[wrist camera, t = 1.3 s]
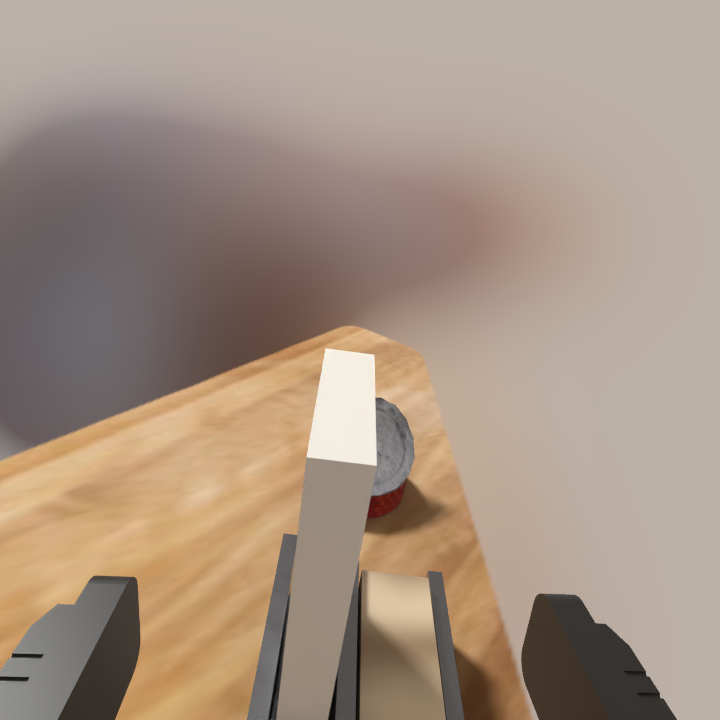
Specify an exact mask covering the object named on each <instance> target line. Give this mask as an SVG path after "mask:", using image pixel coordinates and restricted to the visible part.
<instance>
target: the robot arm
mask: <svg viewBox="0 0 720 720" xmlns="http://www.w3.org/2000/svg"><path fill="white" fill-rule="evenodd" d="M139 648H140V621H139V602H138V584H137V580H136V578H135V577H119V576H93V577H92V578H91V579H90V580H89V582H88V583H87V585H86V586H85V588H84V590H83V591H82V593H81V595H80V596H79V598H78V600H77V601H76V603H75V604H74V605H65V604H57V605H56V606H55V607H54V608H53V609H51V610H50V611H49V612H48V613H46V614H45V615H44V616H43V617H42V618H40V619H39V620H38V621H37V622H35V623H34V624H33V625H32V626H31V627H30V628H29V630H28V631H27V633H26V634H25V635H24V637H23V638H22V640H21V641H20V643H19V644H18V646H17V647H16V649H15V650H14V652H13V653H12V657H11V659H8V660H7V662H6V663H5V665H4V666H3V668H2V669H1V671H0V720H115V718H116V715H117V713H118V710H119V708H120V706H121V703H122V701H123V698H124V696H125V693H126V691H127V688H128V686H129V683H130V681H131V678H132V676H133V673H134V670H135V667H136V663H137V659H138V654H139ZM521 660H522V672H523V677H524V681H525V684H526V687H527V690H528V692H529V695H530V698H531V700H532V703H533V705H534V708H535V710H536V713H537V716H538V718H539V720H677V719H676V718H675V716H674V715H673V713H672V711H671V710H670V708H669V707H668V705H667V704H666V702H665V700H664V699H661V698H660V693H659V691H658V690H657V688H656V687H655V685H654V684H653V682H652V681H651V679H650V677H647V676H646V671H645V670H644V668H643V667H642V665H641V663H640V662H639V660H638V659H637V657H636V656H635V654H634V652H633V651H632V649H631V648H630V646H629V645H628V644H627V643H625V642H624V641H623V640H622V639H621V638H620V637H619V636H618V635H617V634H616V633H615V632H613V630H612V629H610V628H609V627H608V626H607V625H606V624H596V623H595V622H594V620H593V618H592V617H591V615H590V614H589V612H588V610H587V608H586V607H585V605H584V603H583V602H582V600H581V599H580V598H579V597H578V596H576V595H564V594H538V595H537V596H536V598H535V601H534V604H533V608H532V612H531V616H530V620H529V624H528V628H527V633H526V636H525V641H524V644H523V648H522V658H521Z"/></svg>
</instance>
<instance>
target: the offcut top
mask: <svg viewBox="0 0 720 720" xmlns="http://www.w3.org/2000/svg"><path fill="white" fill-rule="evenodd" d="M355 720H446V716H445V708H444V700H443V692H442V684H441V676H440V668H439V660H438V652H437V644H436V636H435V628H434V620H433V612H432V604H431V596H430V588H429V580H428V578H426V577H417V576H408V575H399V574H390V573H382V572H373V571H364V570H362V573H361V578H360V583H359V588H358V624H357V670H356V716H355Z"/></svg>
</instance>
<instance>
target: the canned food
mask: <svg viewBox="0 0 720 720" xmlns="http://www.w3.org/2000/svg"><path fill="white" fill-rule="evenodd" d="M375 407H376V453H377V467H376V472H375V478H374V483H373V488H372V493H371V498H370V504H369V509H368V514H367V519H370V518H376V517H380V516H384V515H386V514H388V513H390V512H391V511H393V510H394V509H395V508H396V507H397V506H398V505H399V503H400V502H401V499H402V496H403V492H404V488H405V483H406V479H407V477H408V475H409V474H410V470H411V467H412V464H413V461H414V458H415V455H414V443H413V436H412V434H411V431H410V429H409V426H408V423H407V419H406V418H405V417H404V416H403V414H402V413H401V412H400V410H399V409H398V408H397V407H396V405H394V404H391V403H389V402H387V401H385V400H384V399H382V398H375Z"/></svg>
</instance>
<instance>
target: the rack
mask: <svg viewBox="0 0 720 720" xmlns="http://www.w3.org/2000/svg"><path fill="white" fill-rule="evenodd" d="M297 536H298V535H291V534H284V535H283V540H282V545H281V550H280V555H279V560H278V565H277V570H276V575H275V581H274V586H273V591H272V596H271V601H270V606H269V611H268V616H267V621H266V626H265V631H264V636H263V641H262V646H261V651H260V657H259V662H258V667H257V672H256V677H255V682H254V687H253V692H252V697H251V702H250V707H249V712H248V717H247V720H276V717H277V708H278V700H279V691H280V682H281V674H282V665H283V656H284V648H285V639H286V631H287V622H288V613H289V605H290V596H291V587H292V579H293V570H294V561H295V553H296V544H297ZM358 578H359V561H358V566H357V571H356V576H355V582H354V587H353V592H352V597H351V602H350V608H349V613H348V618H347V623H346V628H345V634H344V639H343V644H342V649H341V654H340V660H339V665H338V670H337V675H336V680H335V686H334V691H333V696H332V701H331V706H330V711H329V717H328V720H355V716H356V670H357V624H358ZM426 578H428V580H429V588H430V596H431V604H432V612H433V620H434V628H435V636H436V644H437V652H438V660H439V668H440V676H441V684H442V692H443V700H444V708H445V716H446V720H465V719H464V713H463V706H462V700H461V693H460V687H459V680H458V674H457V668H456V661H455V655H454V648H453V642H452V635H451V629H450V622H449V616H448V610H447V603H446V597H445V590H444V584H443V577H442V572H433V571H428V573H427V577H426Z"/></svg>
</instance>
